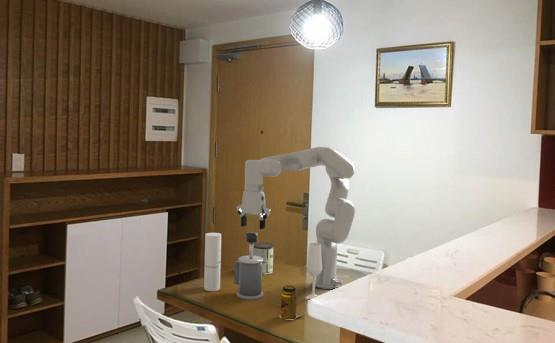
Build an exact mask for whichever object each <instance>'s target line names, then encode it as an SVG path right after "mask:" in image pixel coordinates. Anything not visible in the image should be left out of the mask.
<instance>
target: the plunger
mask: <svg viewBox="0 0 555 343" xmlns="http://www.w3.org/2000/svg"><path fill="white" fill-rule="evenodd" d="M258 234H259V233H258V232H255V231H247V232H246V233H245V242H246V243H249V253H248V256H249V259H253V256H254V244H255V243H258V239H259V238H258Z"/></svg>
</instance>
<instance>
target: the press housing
mask: <svg viewBox="0 0 555 343" xmlns="http://www.w3.org/2000/svg"><path fill="white" fill-rule="evenodd" d="M262 262H263V258H262V257H259V256H254V255H253V259H249V255H242V256H239V257H238V260H235V261H234V274H233V275H234V277H233V278H234V279H233V284H234V285H238V290H237V291H236V297H237V298H239V299H242V300H247V301H251V300H252V301H253V300H254V301H255V300H260V299H262V298H263V297H264V292H263V290H262V288H263V287H262V286H263V285H262V284H263V274H262Z"/></svg>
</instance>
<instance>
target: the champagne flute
mask: <svg viewBox="0 0 555 343" xmlns="http://www.w3.org/2000/svg"><path fill="white" fill-rule="evenodd" d="M306 265H307V266H306V272H308V274H309V275H310V276H311V277H312V282H313V284H312V283H311V284H312V289H311V294H309V295H307V296H305V299H306V300H308V299H309V298H310V299H311V298H313V297H315V296H318V295H317V294H315V293H316V287H315V280H316V276H317V275H319V274H320V273H321V271H322V256H321V244H319V243H317V242H311V243H309V250H308V258H307V264H306Z"/></svg>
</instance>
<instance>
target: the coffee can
mask: <svg viewBox="0 0 555 343" xmlns="http://www.w3.org/2000/svg"><path fill="white" fill-rule="evenodd" d="M253 256H259V257H262V258H263V262H262V275H270V274H272V273H273V272H274V271H273V268H274V244H273V243H270V242H269V243H268V242H255V243H253Z"/></svg>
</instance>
